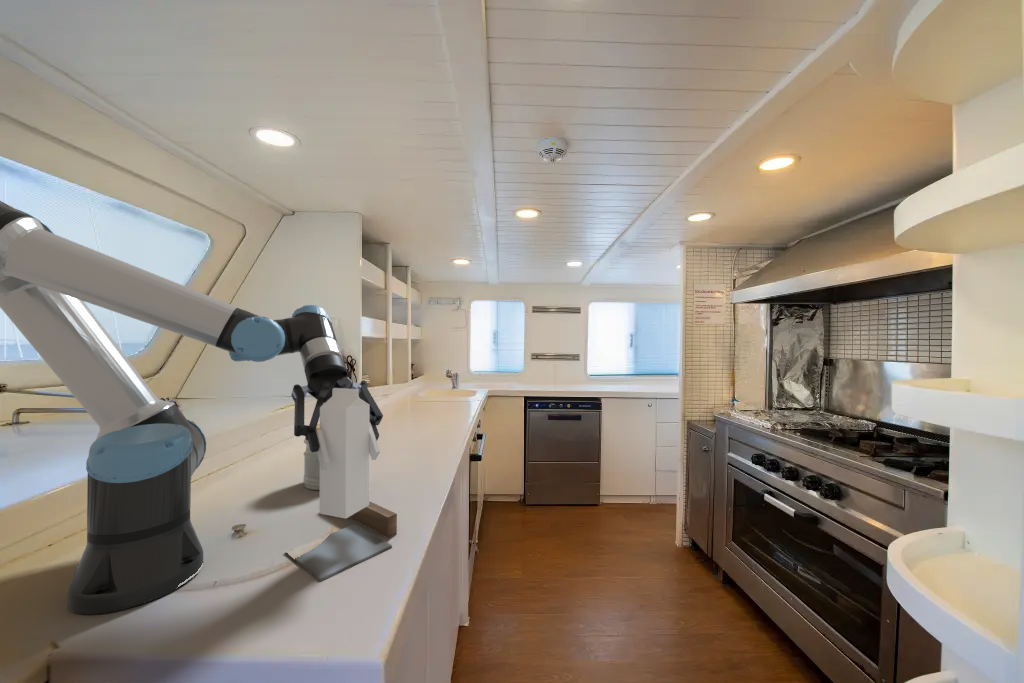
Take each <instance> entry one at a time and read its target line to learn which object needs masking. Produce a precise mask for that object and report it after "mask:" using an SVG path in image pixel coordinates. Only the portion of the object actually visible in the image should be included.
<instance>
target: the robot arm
mask: <svg viewBox="0 0 1024 683" xmlns="http://www.w3.org/2000/svg"><path fill="white" fill-rule="evenodd" d="M86 303H87V304H91V305H94V306H97V307H100V308H103V309H106V310H108V311H111V312H113V313H117V314H120V315H123V316H126V317H129V318H132V319H135V320H138V321H140V322H144V323H146V324H150V325H151V326H154V327H157V328H161V329H164V330H165V331H166V330H167V331H169V332H173V333H175V334H178V335H181V336H183V337H186V338H190V339H193V340H195V341H199V342H201V343H204V344H207V345H210V346H213V347H215V348H219V349H221V350H223V351H226V352H228V354H229V357H230V359H231V360H232V361H233V362H245V361H247V362H257V363H258V362H259V363H260V362H266V361H269V360H272V359H274V358H275V357H277V356H283V355H288V354H295V353H300V357H301V362H302V366H303V369H304V370H303V371H304V374H305V379H306V382H307V385H303V386H301V385H300V384H298V383H297V384H294V385H293V387H292V392H291V398H292V400H293V401H294V419H293V420H294V423H293V427H294V428H293V434H294V436H295V437H301V436H302V437H303V436H304V437H305V438H304V440H305V439H306V440H308V442H309V447H310V450H311V452H317V454H318V459H319V463H320V467H321V471H322V470H326V469H327V466H328V464H329V457H328V453H327V449H326V445H325V441H324V437H323V433H322V429H317V431H316V427H317V425H318V424H319V421H320V407H321V406H322V405H323V404H324V403H325V402H327V401H328V400H329V399H330V398H331V397H332V390H333V388H344V389H358V391H359V398H360V399H362V400H363V401H365V402H366V403H368V404H369V457H370V459H371V461H376V460H377V459H378V457H379V455H380V453H381V450H380V447H379V444H378V439H379V437H380V433H379V431H378V430H379V429H378V428H377V426H379V425H380V424H381V422H382V419H383V417H384V415H383V413H382V411H381V409H380V407H379V406H378V404H377V402H376V401H375V399H374V398H373V396H372V393H370V391H369V389H368V388H369V387H368V383H367V381H366V380H361V381H360V382H354V381H353V380H352V379H350V378H349V373H348V370H347V367H346V365H345V364H346V363H345V361H344V357H343V354H342V352H341V351H342V350H341V348H340V346H339V342H338V339H337V337H336V334H335V330H334V327H333V323H332V321H331V319H330V316H329V315H328V312H327V311H326V310H325V309H324V308H323V307H322V306H318V305H314V304H307V305H306V304H305V305H303V306H301V307H299V308H296V309H295V310H294V311H293V313H292V315H291V317H286V318H282V319H281V318H280V319H271V318H269V317H267V316H261V315H258V314H255V313H252V312H250V311H248V310H246V309H243V308H239V307H237V306H236V305H232V304H230V303H228V302H225V301H222V300H220V299H218V298H215V297H213V296H210V295H208V294H205V293H202V292H200V291H198V290H195V289H193V288H190V287H187V286H185V285H183V284H180V283H177V282H175V281H174V280H173V281H172V280H170V279H167V278H165V277H162V276H160V275H157V274H155V273H153V272H150V271H148V270H145V269H142V268H140V267H137V266H135V265H133V264H130V263H128V262H125V261H122V260H120V259H117V258H115V257H113V256H110V255H108V254H105V253H103V252H100V251H97V250H95V249H93V248H91V247H87V246H84V245H82V244H80V243H77V242H75V241H72V240H70V239H67V238H65V237H63V236H60V235H58V234H56V233H54V231H53V230H51V229H50V227H49V226H48V225H46V224H44V223H43V222H42V221H41V220H40V219H37V218H36V217H35V216H32V214H29V213H27V212H25V211H23V210H20V209H18V208H15V207H13V206H11V205H9V204H8V203H5V202H4V201H2V200H0V309H1V310H2V311H3V312H4V313H5V315H6V316H7V317H8V319H9V320H10V321H11V322H12V324H13V325H14V326H15V328H17V329H18V331H19V332H20V333H21V334H22V336H24V338H25V339H26V340H27V342H28V343H29V344H30V345H31V347H33V349H34V350H35V352H37V353H38V355H39V356H40V358H42V359H43V361H44V362H45V363H46V364H47V366H48V367H49V368H50V369H51V370H52V372H53V373H54V374H55V375H56V376H57V378H58V379H59V380H60V381H61V382H62V384H63V385H64V386H65V387H66V389H67V390H68V391H69V392H70V394H72V396H73V397H74V398H75V399H76V401H77V402H78V403H79V404H80V405H81V407H82V408H83V409H84V410H85V411H86V412H87V414H88V415H89V416H90V417H91V419H92V420H93V421H94V422H95V424H96V425H97V426H98V428H99V431H98V433H97V436H96V438H95V440H94V441H93V442H92V443H91V445H90V447H89V449H88V456H87V457H88V458H87V459H86V463H85V465H86V467H85V468H86V469H85V470H86V472H87V485H86V486H87V493H86V494H87V495H86V496H87V497H86V498H87V501H86V502H87V505H86V507H87V509H86V512H87V513H86V517H87V518H86V526H87V527H86V530H87V531H86V533H87V534H86V546H85V549H84V551H83V553H82V555H81V558H80V559H79V563H78V565H77V567H76V569H75V571H74V574H73V576H72V579H71V581H70V584H69V585H68V590H67V608H68V609H69V610H70V611H71V612H73V613H76V614H80V615H81V614H82V615H95V614H96V615H98V614H107V613H111V612H112V613H113V612H117V611H122V610H127V609H129V608H133V607H137V606H140V605H143V604H145V603H149V602H152V601H153V600H156V599H158V598H159V599H160V598H161V597H163V596H165V595H168V594H170V593H172V592H173V591H176V590H177V589H178V588H177V587H178V585H179V584H180V583H182V582H184V581H185V580H186V579H188V578H189V577H190V576H192V575H193V574H195V573H196V572H197V571H198V569H199V568H200V567H201V565H202V563H203V564H204V549H203V547H202V544H201V542H200V540H199V537H198V535H197V533H196V531H195V528H194V526H193V524H192V522H191V502H192V501H191V498H192V496H191V493H192V490H191V486H192V484H191V483H192V476H193V474H195V471H196V470H197V469H198V468H199V467H200V465H201V463H202V462H203V460H204V458H205V455H206V452H207V439H206V436H205V433H204V432H203V429H201V427H200V426H199V425H197V424H196V423H195V422H193V421H191V420H189V419H187V418H186V417H185V415H184V414H183V412H182V411H181V410H180V409H179V407H178V406H177V404H176V403H175V402H173V401H168V400H162V399H159V397H158V396H157V395H156V394H155V392H153V390H152V389H151V387H150V386H149V385H148V383H147V382H146V381H145V380H144V378H143V377H142V375H141V374H140V373H139V372H138V371H137V369H136V368H135V367H134V365H133V364H132V362H130V360H129V359H128V358H127V356H126V355H125V354H124V352H123V351H122V350H121V348H120V347H119V346H118V344H117V343H116V342H115V340H114V339H113V338H112V336H111V335H110V334H109V333H108V332H107V330H106V329H105V327H104V326H103V325H102V323H101V322H100V321H99V320H98V319H97V317H96V316H95V314H94V313H93V311H92V310H91V309H90V308H89V307H88V305H87V304H86ZM307 394H309V395H310V396H311V397H312V398H315V399H316V402H315V405H314V408H313V412H312V415H311V419H310V421H309V425H307V424H305V398H306V397H307ZM176 588H177V589H176Z"/></svg>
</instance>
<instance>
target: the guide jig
mask: <svg viewBox="0 0 1024 683" xmlns="http://www.w3.org/2000/svg"><path fill="white" fill-rule="evenodd" d="M397 517H398V514H397V513H396V512H394V511H391V510H390V509H387V508H385V507H382V506H381V505H378V504H376V503H375V502H372V501H370V500H369V506H367V507H365V508H363V509H362V510H360V511H358V512H356V513H355V514H353V515H351V516H350V517H348V518H349V519H351V520H353V521H355V522H356V523H358V522H359V523H358V524H360V523H361V524H360V525H362V526H364V525H365V526H364V527H366V528H368V529H369V530H371V529H372V531H373V530H374V531H373V532H375V531H376V532H375V533H377V534H379V535H380V536H383V537H384V536H385V538H386V537H387V538H386V539H389V538H391V536H392V537H394V536H396V535H397V534H398V533H397V531H398V530H397V528H398V518H397ZM329 534H330V535H329V536H328V537H327V538H326V539H325V540H324V541H323V542H322V543H321V544H319V545H318V546H317V547H316V548H314V549H312V550H311V551H309V552H307V553H305V554H303V555H301V556H300V557H297V558H295V560H294V561H295V562H296V563H297V564H298V565H300V566H301V567H302V568H303V569H305V571H307V572H308V573H310V574H311V575H312V576H314V577H315V578H316V579H317V580H318V581H320V582H323V581H325V580H326V579H329V578H331V577H332V576H335V575H337V574H339V573H341V572H344V571H345V570H347V569H350V568H352V567H354V566H356V565H358V564H360V563H362V562H364V561H366V560H368V558H369V559H370V557H371V558H373V557H374V556H377V555H379V554H381V553H383V552H385V551H387V549H388V550H389V548H390V549H392V548H393V545H392V544H391V543H388V542H386V541H385V540H383V539H381V538H379V537H378V536H376V535H374V534H372V533H370V532H368V531H366V530H365V529H364V528H361V527H359V526H357V525H356V524H352V525H349V526H346V527H344V528H341V529H339V530H336V531H333V532H332V533H331V532H330V533H329ZM372 556H373V557H372Z"/></svg>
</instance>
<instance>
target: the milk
mask: <svg viewBox="0 0 1024 683" xmlns="http://www.w3.org/2000/svg"><path fill="white" fill-rule="evenodd" d="M319 424H320V429H322V433H323V437H324V441H325V445H326V449H327V453H328V457H329V464H328V466H327V469H326V470H322V471H321V467H320V490H319V509H318V510H319V514H320V515H325V516H331V517H334V518H335V517H336V518H341V519H348V518H349V517H350V516H351V515H353V514H355V513H356V512H358V511H360V510H362V509H363V508H365V507H367V506H369V501H370V453H369V404H368V403H366V402H365V401H363V400H362V399H360V398H359V391H358V389H344V388H333V390H332V397H331V398H330V399H329V400H328V401H327V402H325V403H324V404H323V405H322V406H321V407H320V417H319Z"/></svg>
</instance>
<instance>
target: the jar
mask: <svg viewBox="0 0 1024 683" xmlns="http://www.w3.org/2000/svg"><path fill="white" fill-rule="evenodd" d="M317 429H320V423H318V424H317V427H316V431H317ZM303 443H304V444H305V451H304V452H303V456H304V461H303V462H304V465H303V466H304V468H303V471H304V472H303V485H304V487H305V488H306V489H308V490H312V491H320V463H319V459H318V454H317V452H311V450H310V447H309V442H308V440H306V439H305V438H304V440H303Z"/></svg>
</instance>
